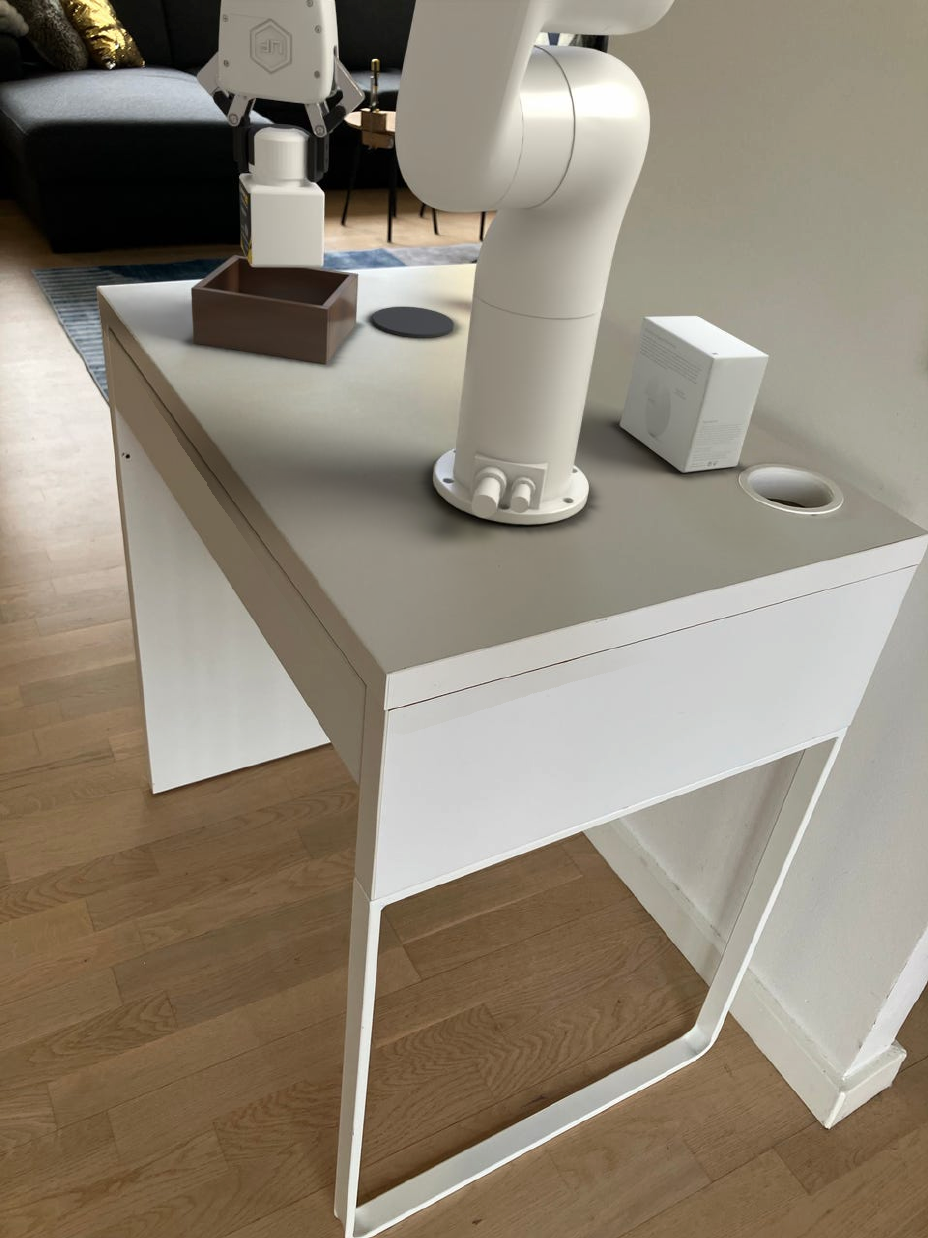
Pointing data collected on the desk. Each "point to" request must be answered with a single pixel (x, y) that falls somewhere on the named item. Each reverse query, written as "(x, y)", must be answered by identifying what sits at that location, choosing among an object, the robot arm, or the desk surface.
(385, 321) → the coaster
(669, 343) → the cosmetics box
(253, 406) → the desk surface
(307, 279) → the desk caddy
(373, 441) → the desk surface
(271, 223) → the medicine bottle
